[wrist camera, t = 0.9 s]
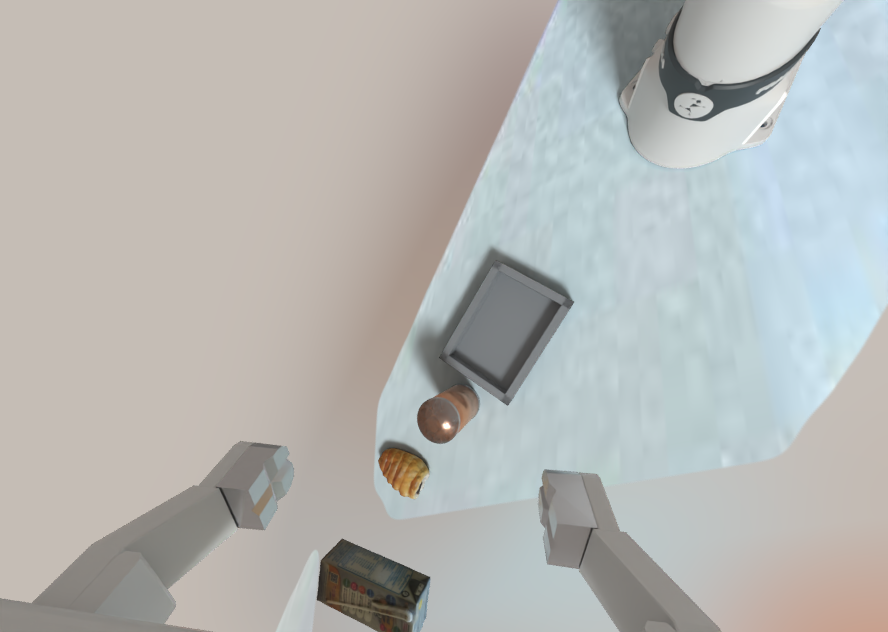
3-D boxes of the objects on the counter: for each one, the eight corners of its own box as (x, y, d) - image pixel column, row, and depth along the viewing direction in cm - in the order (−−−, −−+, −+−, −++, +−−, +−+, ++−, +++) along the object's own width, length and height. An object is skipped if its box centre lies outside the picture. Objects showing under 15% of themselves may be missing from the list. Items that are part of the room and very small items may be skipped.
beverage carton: (427, 621, 55) (409, 658, 49) (337, 575, 62) (311, 603, 56) (432, 575, 55) (415, 607, 49) (341, 535, 62) (316, 558, 56)
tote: (499, 263, 52) (495, 259, 49) (573, 303, 48) (574, 301, 45) (445, 356, 55) (439, 357, 52) (511, 401, 51) (507, 405, 48)
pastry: (378, 468, 59) (366, 477, 56) (391, 436, 59) (380, 443, 55) (420, 498, 56) (410, 509, 52) (435, 464, 55) (426, 474, 52)
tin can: (456, 376, 54) (430, 389, 44) (486, 398, 52) (467, 416, 42) (438, 406, 55) (409, 424, 45) (467, 428, 53) (444, 453, 43)
